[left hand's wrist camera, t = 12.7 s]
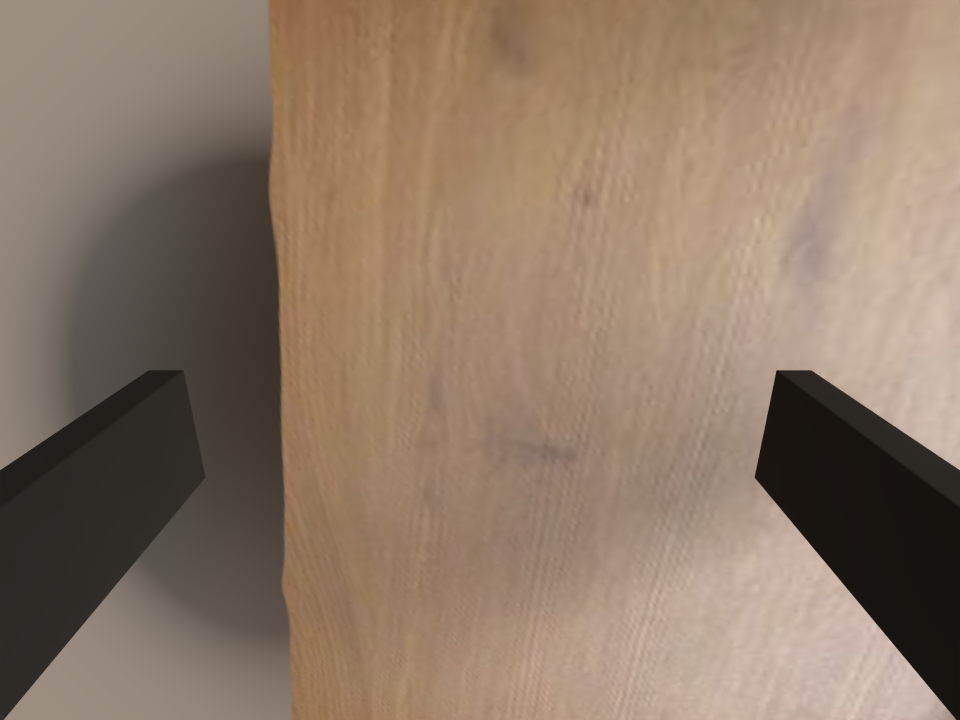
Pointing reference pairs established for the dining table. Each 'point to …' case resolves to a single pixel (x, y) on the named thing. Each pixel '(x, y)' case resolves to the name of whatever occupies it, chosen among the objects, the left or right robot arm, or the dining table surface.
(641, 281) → the dining table surface
